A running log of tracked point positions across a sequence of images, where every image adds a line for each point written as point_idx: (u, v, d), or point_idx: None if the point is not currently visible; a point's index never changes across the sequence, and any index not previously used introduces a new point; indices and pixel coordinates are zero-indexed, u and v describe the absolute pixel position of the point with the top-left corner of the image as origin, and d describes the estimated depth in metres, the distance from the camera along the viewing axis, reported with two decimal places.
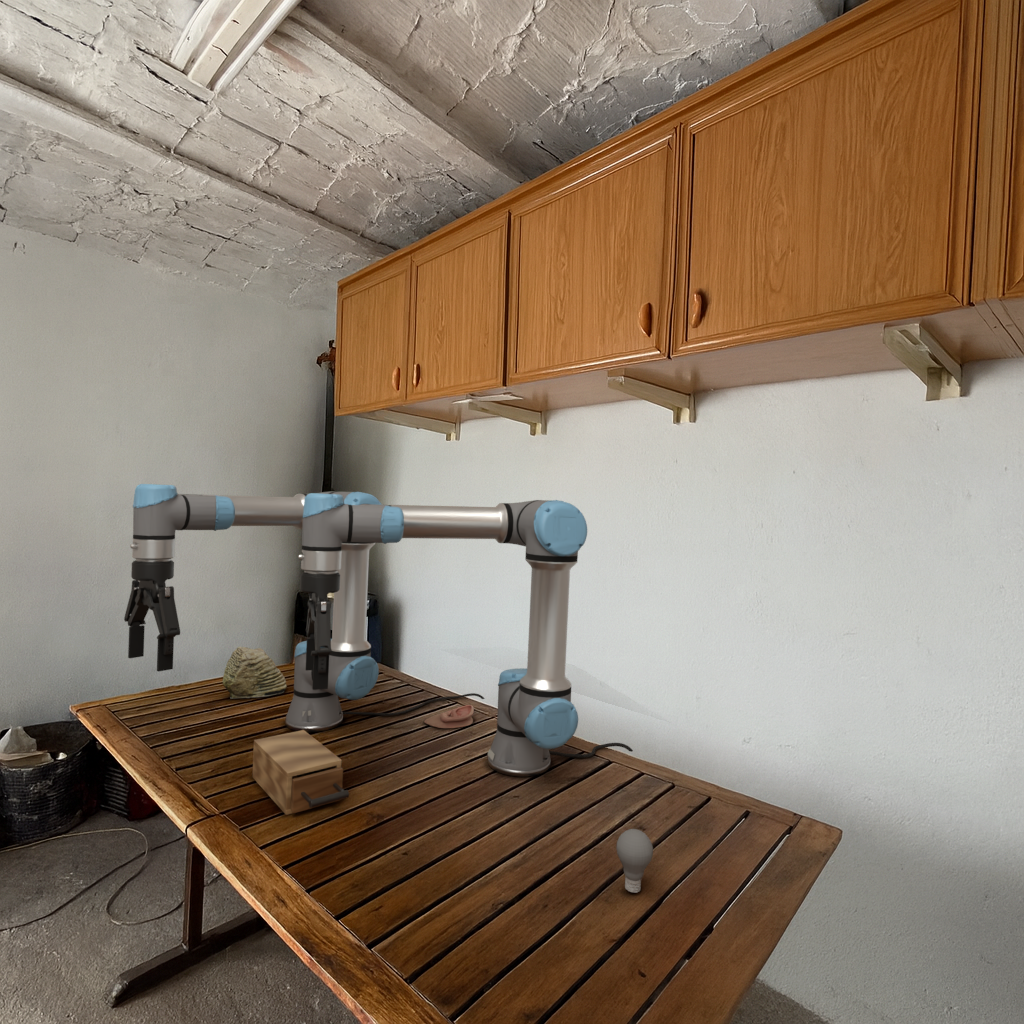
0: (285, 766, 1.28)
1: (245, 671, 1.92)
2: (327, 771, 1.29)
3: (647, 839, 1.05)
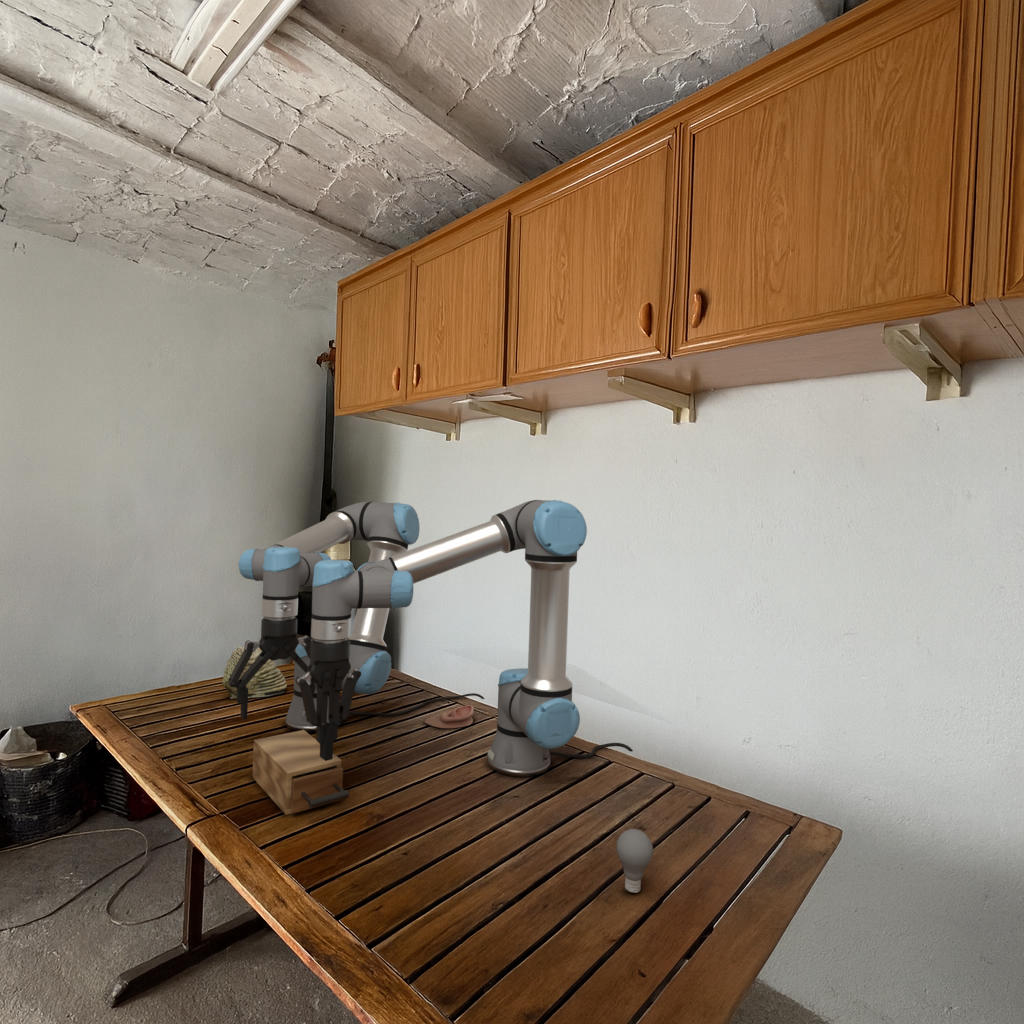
0: (285, 766, 1.28)
1: (245, 671, 1.92)
2: (327, 771, 1.29)
3: (647, 839, 1.05)
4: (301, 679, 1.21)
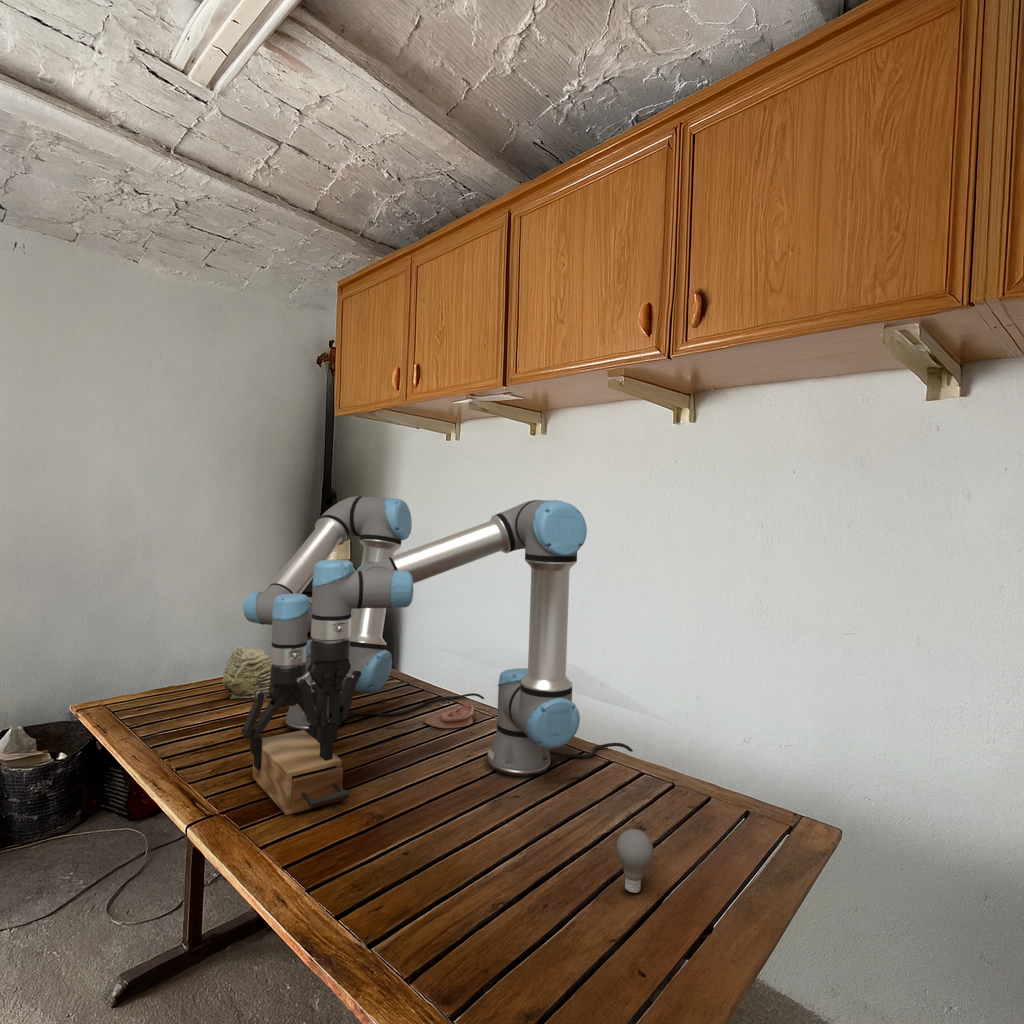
0: (285, 766, 1.28)
1: (245, 671, 1.92)
2: (327, 771, 1.29)
3: (647, 839, 1.05)
4: (301, 679, 1.21)
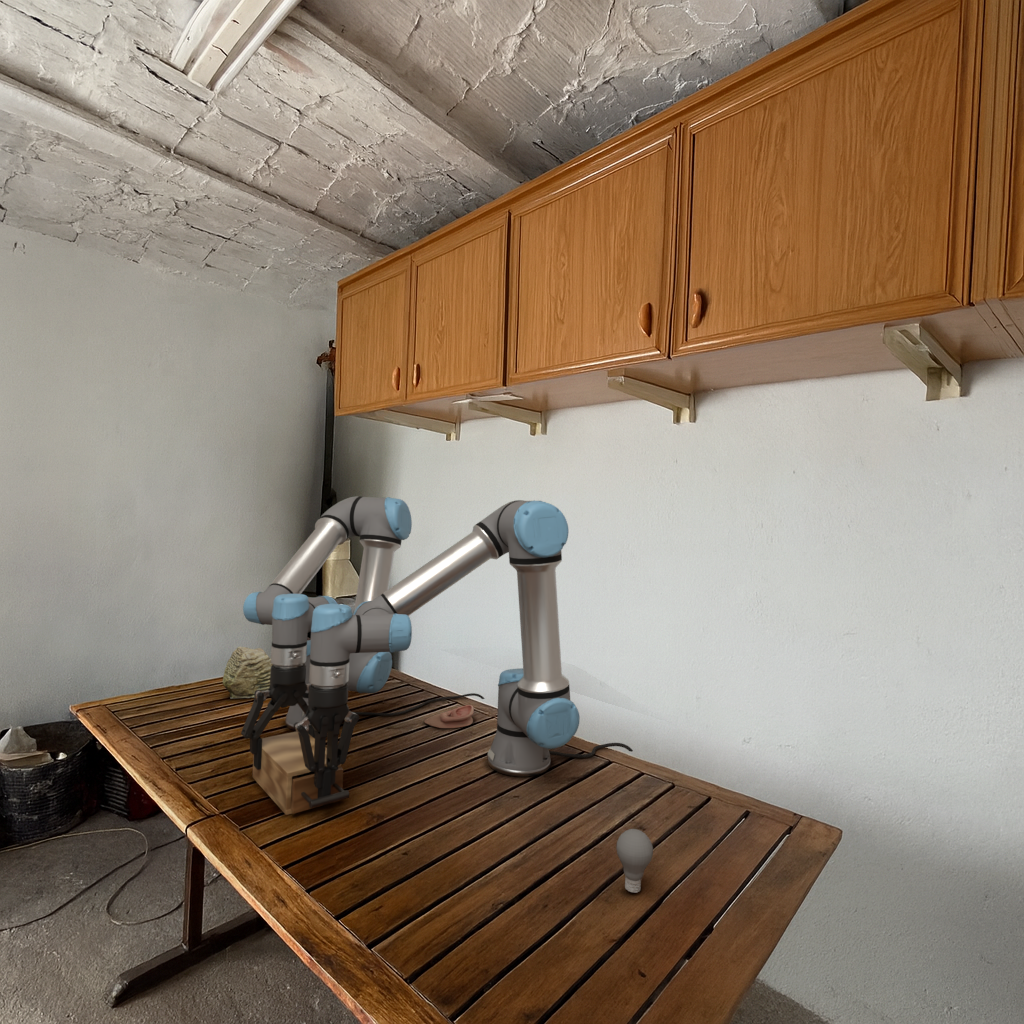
0: (285, 766, 1.28)
1: (245, 671, 1.92)
2: None
3: (647, 839, 1.05)
4: (299, 725, 1.21)
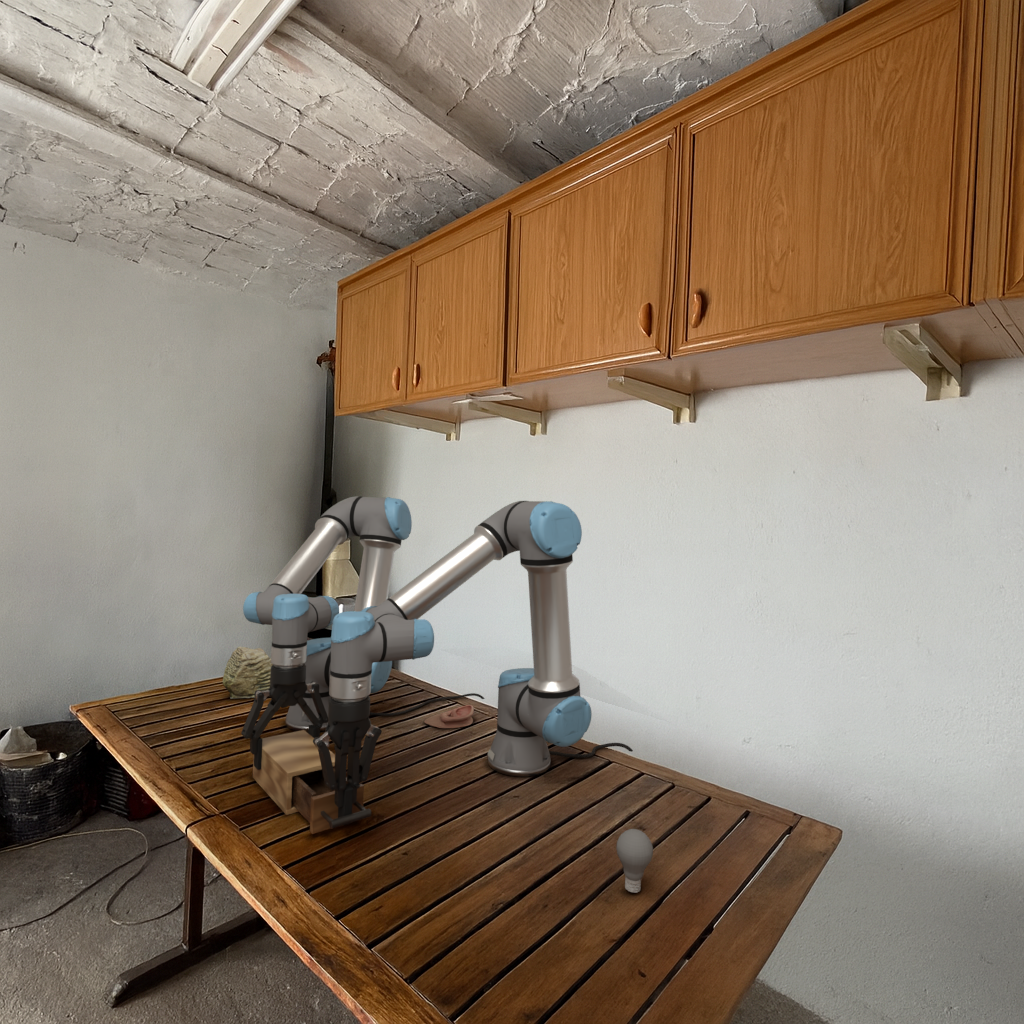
0: (285, 766, 1.28)
1: (245, 671, 1.92)
2: None
3: (647, 839, 1.05)
4: (319, 741, 1.14)
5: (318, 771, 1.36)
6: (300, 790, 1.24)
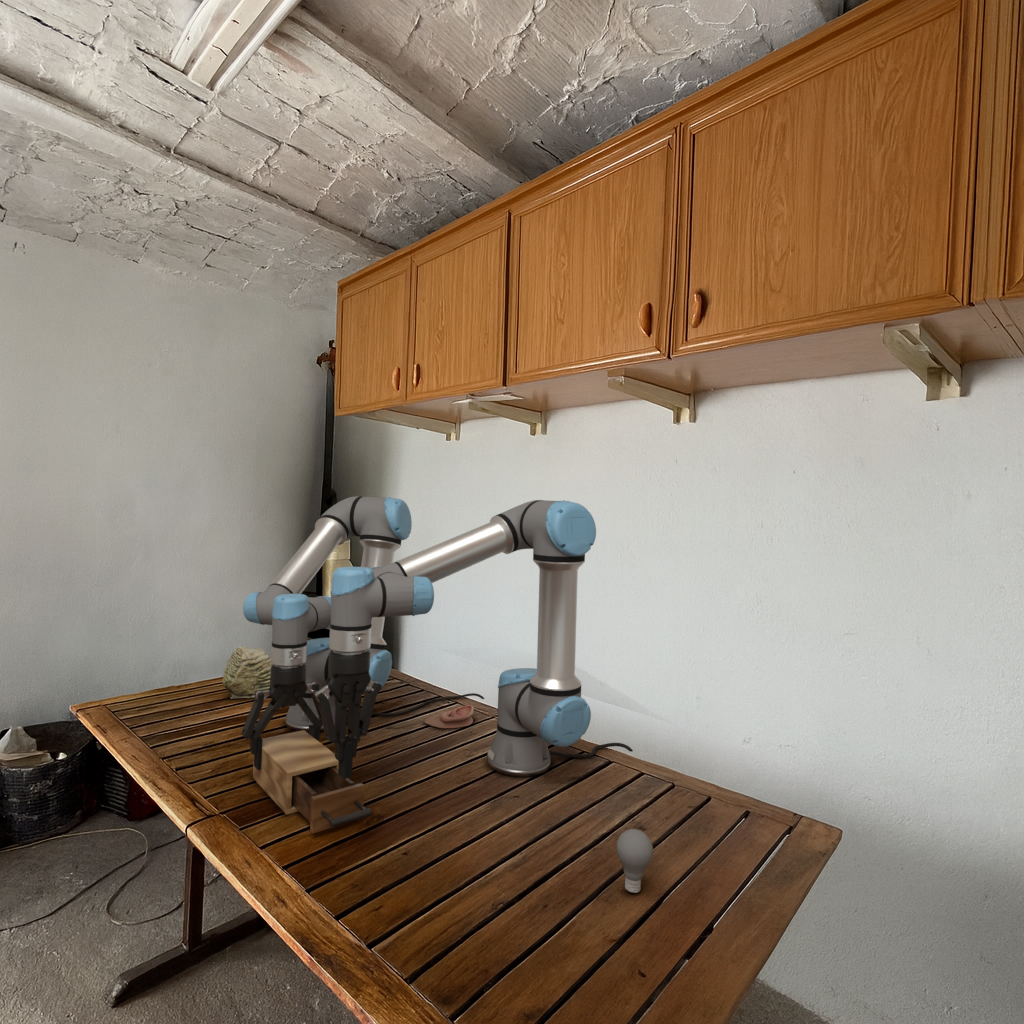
0: (285, 766, 1.28)
1: (245, 671, 1.92)
2: (348, 788, 1.22)
3: (647, 839, 1.05)
4: (319, 693, 1.14)
5: (318, 771, 1.36)
6: (301, 790, 1.24)
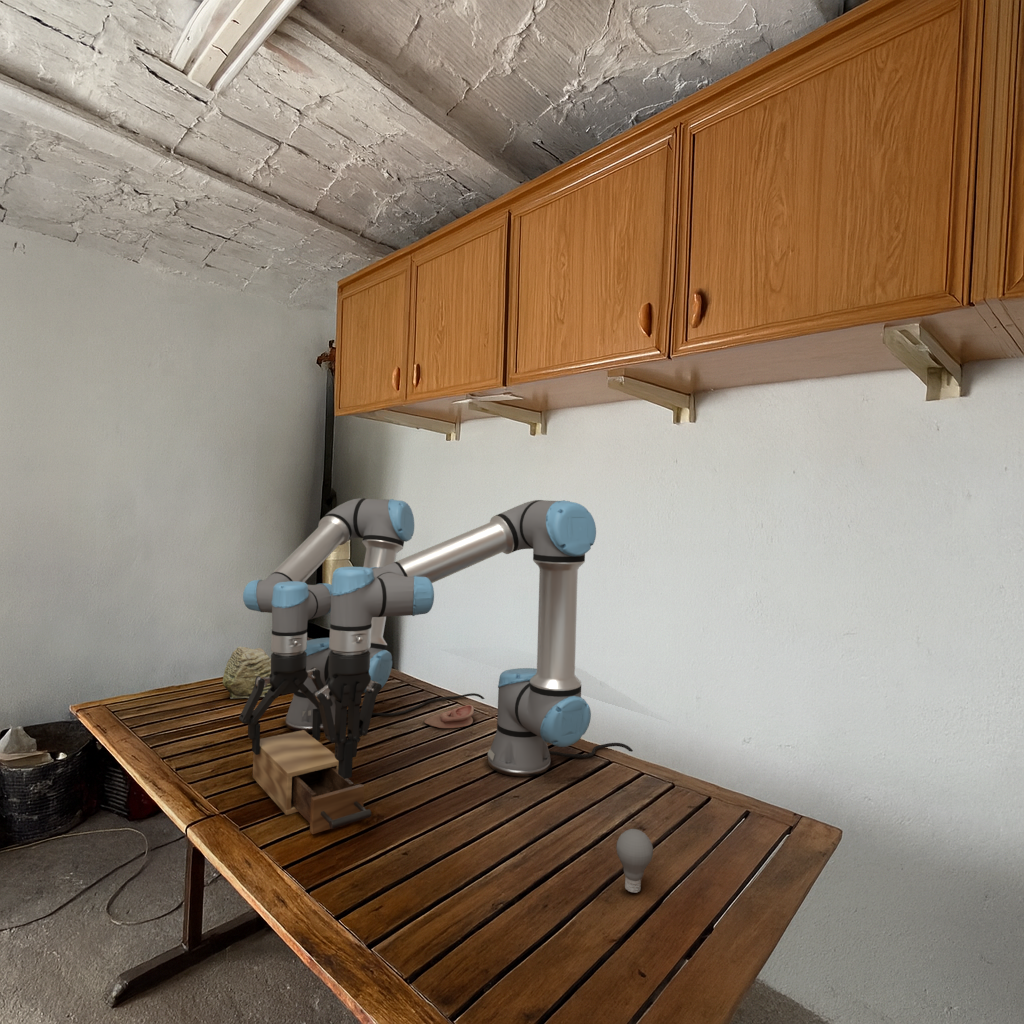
0: (285, 766, 1.28)
1: (245, 671, 1.92)
2: (347, 789, 1.22)
3: (647, 839, 1.05)
4: (319, 693, 1.14)
5: (318, 771, 1.36)
6: (301, 791, 1.24)
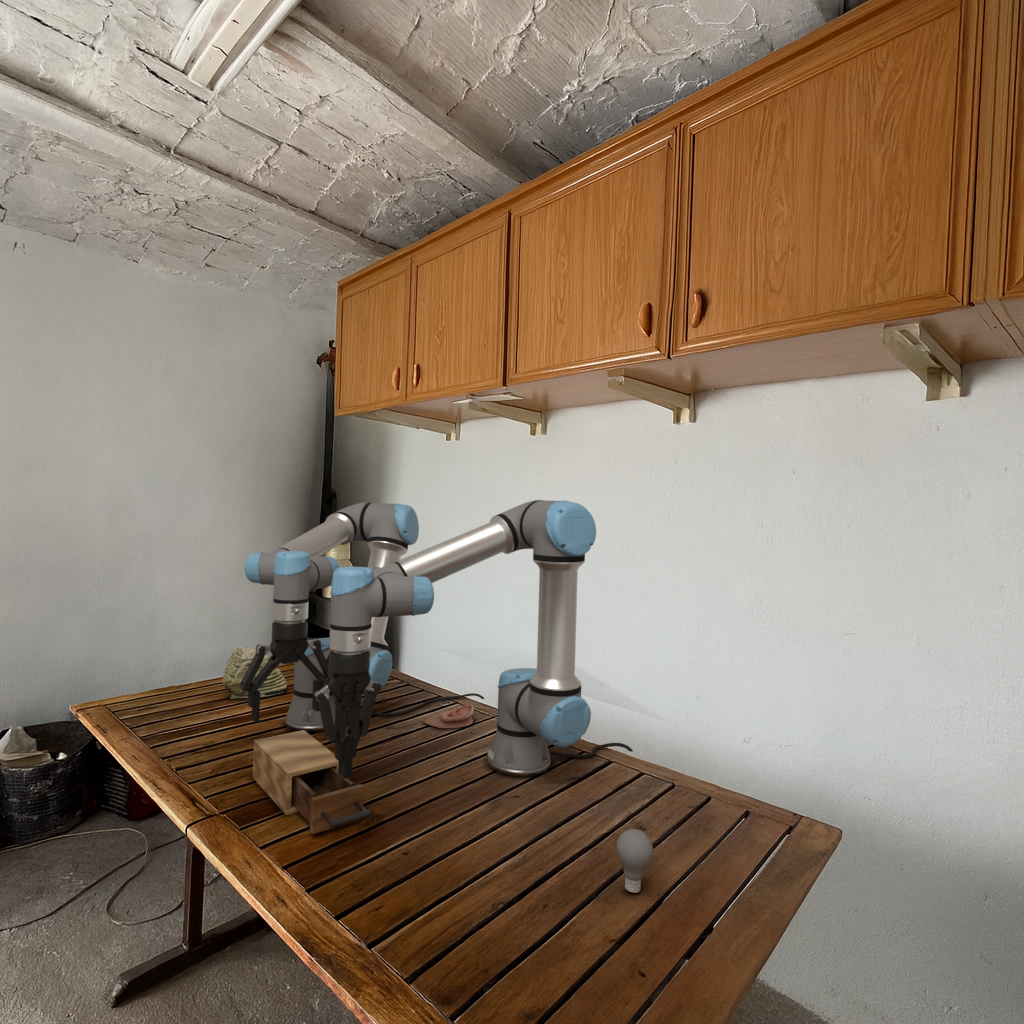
0: (285, 766, 1.28)
1: (245, 671, 1.92)
2: (347, 789, 1.22)
3: (647, 839, 1.05)
4: (319, 693, 1.14)
5: (318, 771, 1.36)
6: (301, 791, 1.24)
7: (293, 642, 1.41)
